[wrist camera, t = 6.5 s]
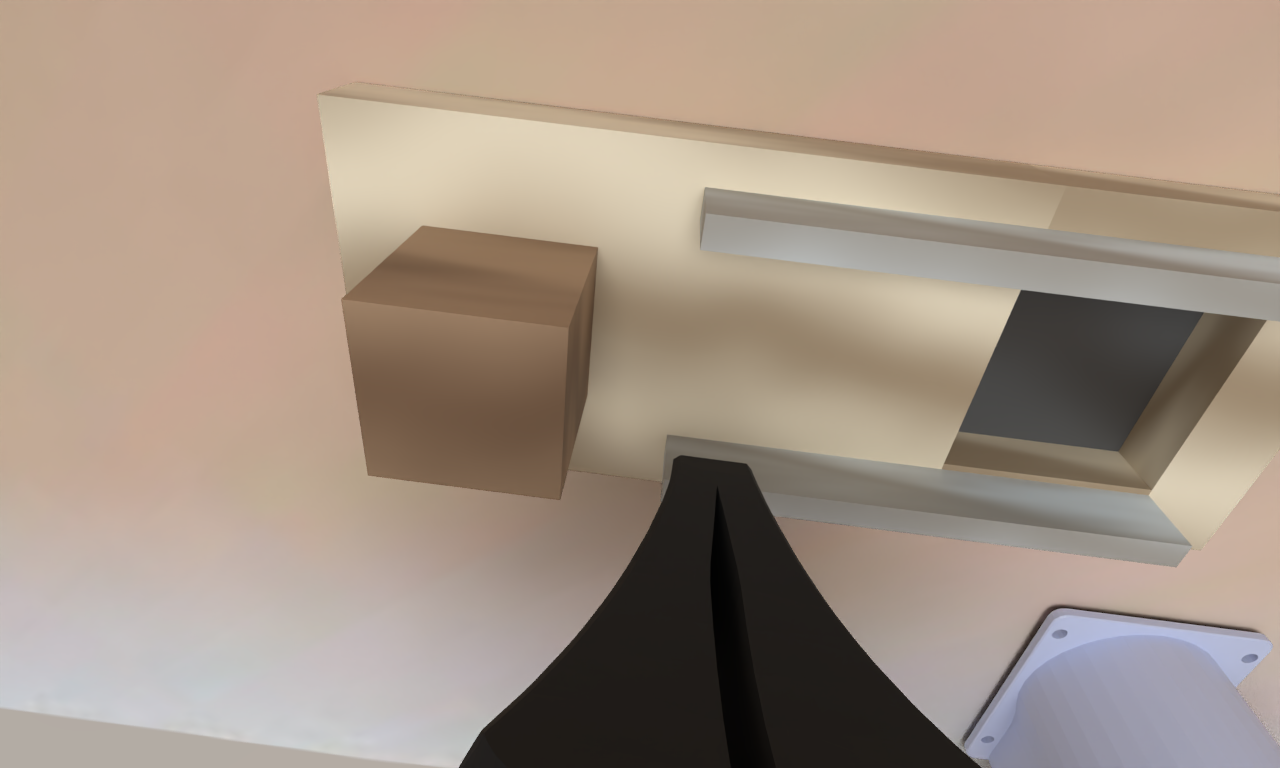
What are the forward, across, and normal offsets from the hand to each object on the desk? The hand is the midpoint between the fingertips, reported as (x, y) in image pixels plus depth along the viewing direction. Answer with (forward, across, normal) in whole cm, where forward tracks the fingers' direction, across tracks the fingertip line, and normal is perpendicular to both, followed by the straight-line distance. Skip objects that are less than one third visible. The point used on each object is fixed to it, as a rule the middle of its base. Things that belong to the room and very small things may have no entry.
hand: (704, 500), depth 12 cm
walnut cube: (+6, +5, 0) cm, 8 cm away
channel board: (+8, -3, 0) cm, 9 cm away
